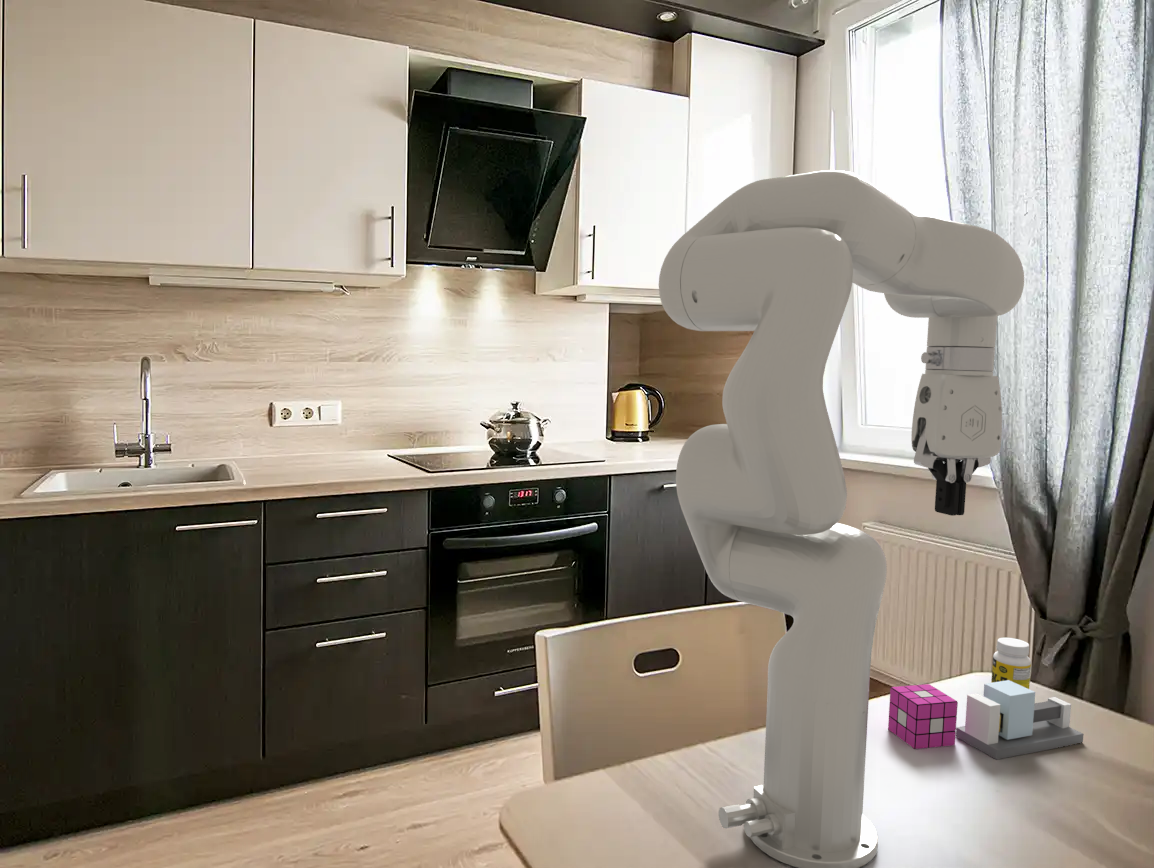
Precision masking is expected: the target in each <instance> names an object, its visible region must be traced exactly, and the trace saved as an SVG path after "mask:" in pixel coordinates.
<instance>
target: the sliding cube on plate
mask: <svg viewBox="0 0 1154 868" xmlns="http://www.w3.org/2000/svg"><path fill="white" fill-rule="evenodd" d="M965 707H966V709H965V722H964V723H965V724H964V725H962V726H956V736H955V738H957V739H959V740H960V741H963V742H964V743H966V744H968V745H970V746H972V747H973V748H974V749H975V748H976V749H977V750H979V751H980V752H982V753H984V754H986V755H988V756H990V757H991V758H993V759H994V760H1000V759H1005V758H1012V757H1016V756H1022V755H1026V754H1032V753H1039V752H1043V751H1049V750H1052V749H1058V747H1059V748H1064V747H1063V746H1065V747H1069V746H1068V745H1070V746H1072V745H1071V744H1075V745H1077V744H1076V743H1080V744H1082V743H1081V742H1083V743H1084V733H1083V732H1081V731H1079V730H1077V729H1074V728H1073V727H1070V726H1071V725H1070V724H1071V723H1070V722H1071V713H1072V711H1071V710H1072V703H1069V702H1067V701H1065V700H1062V699H1060V698H1058V697H1056V696H1052V697H1048V698H1047V701H1041V702H1035V704H1034V718H1033V731H1032V735H1031V736H1025V737H1020V738H1014V739H1009V740H1007V739H1005V738H1003V737H1001V736H999V735H998V734H999V732H1000V728H1003V715H1004V714H1002V713H1000V704H998V703H996V702H994V701H992V700H990V699H988V698H986V697H984V695H982V694H980V693H978V692H977V693H970V694H966V706H965Z"/></svg>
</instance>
